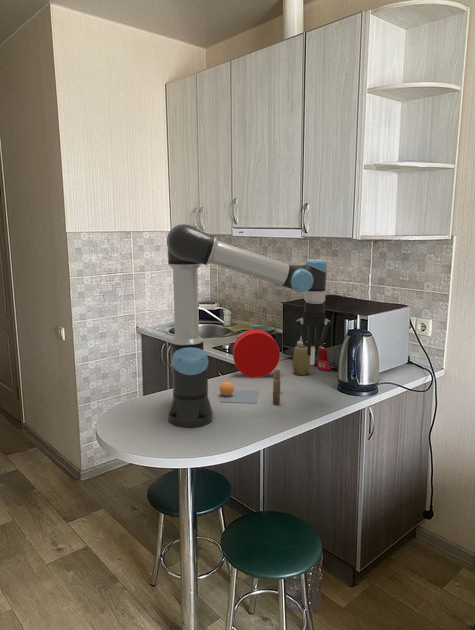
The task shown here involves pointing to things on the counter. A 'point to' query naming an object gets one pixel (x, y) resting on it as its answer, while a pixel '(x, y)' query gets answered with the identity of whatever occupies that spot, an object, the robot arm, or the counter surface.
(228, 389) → the ball
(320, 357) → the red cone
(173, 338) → the robot arm
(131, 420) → the counter surface
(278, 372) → the far post
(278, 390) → the near post
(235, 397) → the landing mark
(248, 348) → the red thick disc
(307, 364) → the squeeze bottle
